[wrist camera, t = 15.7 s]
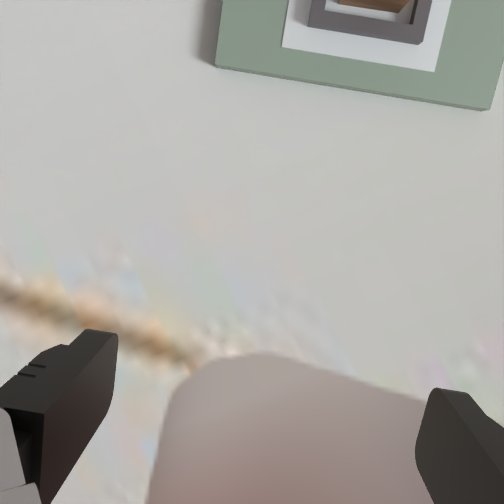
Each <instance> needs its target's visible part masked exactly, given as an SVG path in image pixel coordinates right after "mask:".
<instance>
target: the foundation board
mask: <svg viewBox="0 0 504 504" xmlns="http://www.w3.org/2000/svg"><path fill="white" fill-rule="evenodd" d="M338 1H339V0H223V4H222V12H221V19H220V27H219V34H218V42H217V49H216V57H215V65H216V67H217V68H222V69H228V70H234V71H240V72H246V73H252V74H258V75H264V76H270V77H276V78H283V79H289V80H295V81H301V82H307V83H313V84H319V85H325V86H331V87H337V88H343V89H349V90H355V91H361V92H367V93H373V94H379V95H385V96H391V97H397V98H403V99H409V100H415V101H422V102H428V103H434V104H440V105H446V106H452V107H458V108H464V109H470V110H476V111H485V110H490V108H491V104H492V101H493V97H494V93H495V90H496V86H497V82H498V78H499V75H500V71H501V67H502V64H503V60H504V0H410V1H409V2H408V3H407V4H406V5H405V6H404V7H403V8H402V10H401V11H400V12H399V13H392V12H386V11H379V10H373V9H366V8H360V7H353V6H347V5H340V4H338Z"/></svg>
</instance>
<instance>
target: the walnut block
mask: <svg viewBox="0 0 504 504" xmlns="http://www.w3.org/2000/svg"><path fill="white" fill-rule="evenodd" d="M409 1H410V0H339V1H338V4H340V5H347V6H353V7H360V8H366V9H373V10H379V11H386V12H392V13H399V12H400V11H401V10H402V8H403V7H404V6H405V5H406V4H407V3H408V2H409Z"/></svg>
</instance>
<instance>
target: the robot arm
mask: <svg viewBox="0 0 504 504" xmlns="http://www.w3.org/2000/svg"><path fill="white" fill-rule="evenodd" d="M117 351H118V335H117V334H116V333H110V332H104V331H98V330H92V329H86V330H84V331H83V332H82V333H81V334H80V335H79V336H78V337H77V338H76V339H75V340H74V341H73V342H72V343H71V344H70V345H63V344H60V345H57V346H55V347H53V348H50V349H48V350H45V351H43V352H41V353H40V354H39V355H38V356H36V357H35V358H34V359H33V360H32V361H31V362H29V364H28V366H27V365H26V366H25V367H24V368H22V369H21V370H20V371H19V372H18V374H17V375H14V376H13V377H12V378H11V379H10V380H9V381H7V382H6V383H5V384H4V385H3V386H2V387H1V388H0V504H51V502H52V500H53V499H54V497H55V496H56V494H57V492H58V491H59V489H60V488H61V486H62V484H63V483H64V481H65V480H66V478H67V476H68V475H69V473H70V472H71V470H72V468H73V467H74V465H75V464H76V462H77V460H78V459H79V457H80V456H81V454H82V453H83V451H84V449H85V448H86V446H87V445H88V443H89V441H90V440H91V438H92V437H93V435H94V433H95V432H96V430H97V429H98V427H99V425H100V424H101V422H102V421H103V419H104V417H105V416H106V414H107V412H108V409H109V407H110V404H111V400H112V396H113V390H114V381H115V371H116V361H117ZM415 459H416V464H417V468H418V470H419V473H420V475H421V476H422V479H423V481H424V483H425V485H426V487H427V489H428V492H429V494H430V496H431V498H432V500H433V502H434V504H504V428H503V427H502V426H500V425H499V424H498V423H496V422H495V421H494V420H492V419H491V418H490V417H488V416H487V415H486V414H485V413H484V412H483V411H482V409H481V408H480V407H479V406H478V405H477V403H476V402H475V401H474V400H473V399H472V397H471V396H470V395H469V394H468V393H465V392H459V391H453V390H447V389H441V388H434V389H433V390H432V391H431V393H430V395H429V398H428V401H427V405H426V408H425V412H424V416H423V420H422V423H421V426H420V430H419V434H418V437H417V441H416V446H415Z"/></svg>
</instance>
